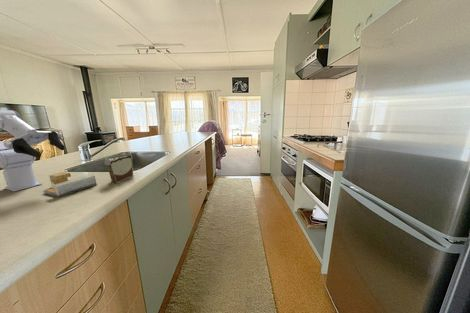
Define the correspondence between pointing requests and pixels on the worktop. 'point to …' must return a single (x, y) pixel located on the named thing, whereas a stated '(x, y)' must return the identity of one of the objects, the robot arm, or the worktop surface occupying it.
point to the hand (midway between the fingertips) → (51, 151)
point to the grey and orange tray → (71, 186)
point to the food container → (119, 167)
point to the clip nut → (59, 177)
